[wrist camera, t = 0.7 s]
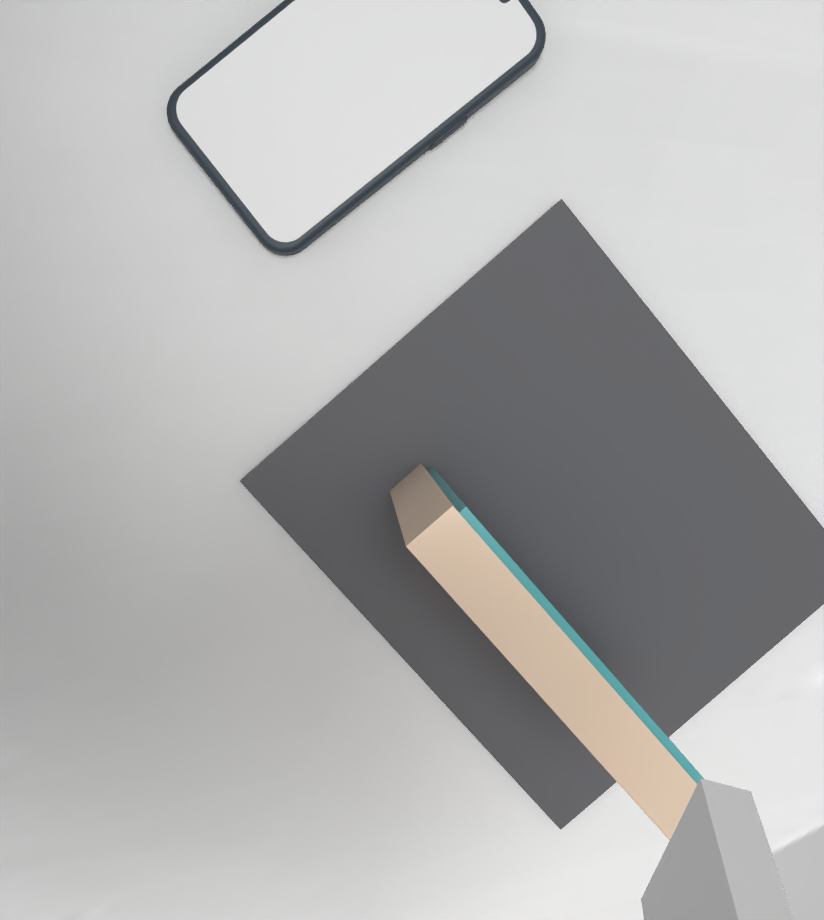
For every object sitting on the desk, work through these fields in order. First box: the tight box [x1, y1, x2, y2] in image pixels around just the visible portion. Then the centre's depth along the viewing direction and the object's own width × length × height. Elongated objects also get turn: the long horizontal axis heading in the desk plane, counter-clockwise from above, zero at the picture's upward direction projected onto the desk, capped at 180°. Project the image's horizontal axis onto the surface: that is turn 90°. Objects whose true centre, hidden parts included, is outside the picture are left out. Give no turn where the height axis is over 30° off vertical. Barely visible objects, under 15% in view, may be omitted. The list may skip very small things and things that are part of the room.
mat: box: [240, 199, 824, 829], centre depth 38 cm, size 24×20×1 cm
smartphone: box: [167, 0, 546, 256], centre depth 35 cm, size 9×2×16 cm
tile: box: [390, 464, 704, 840], centre depth 32 cm, size 14×2×12 cm, turn 41°
